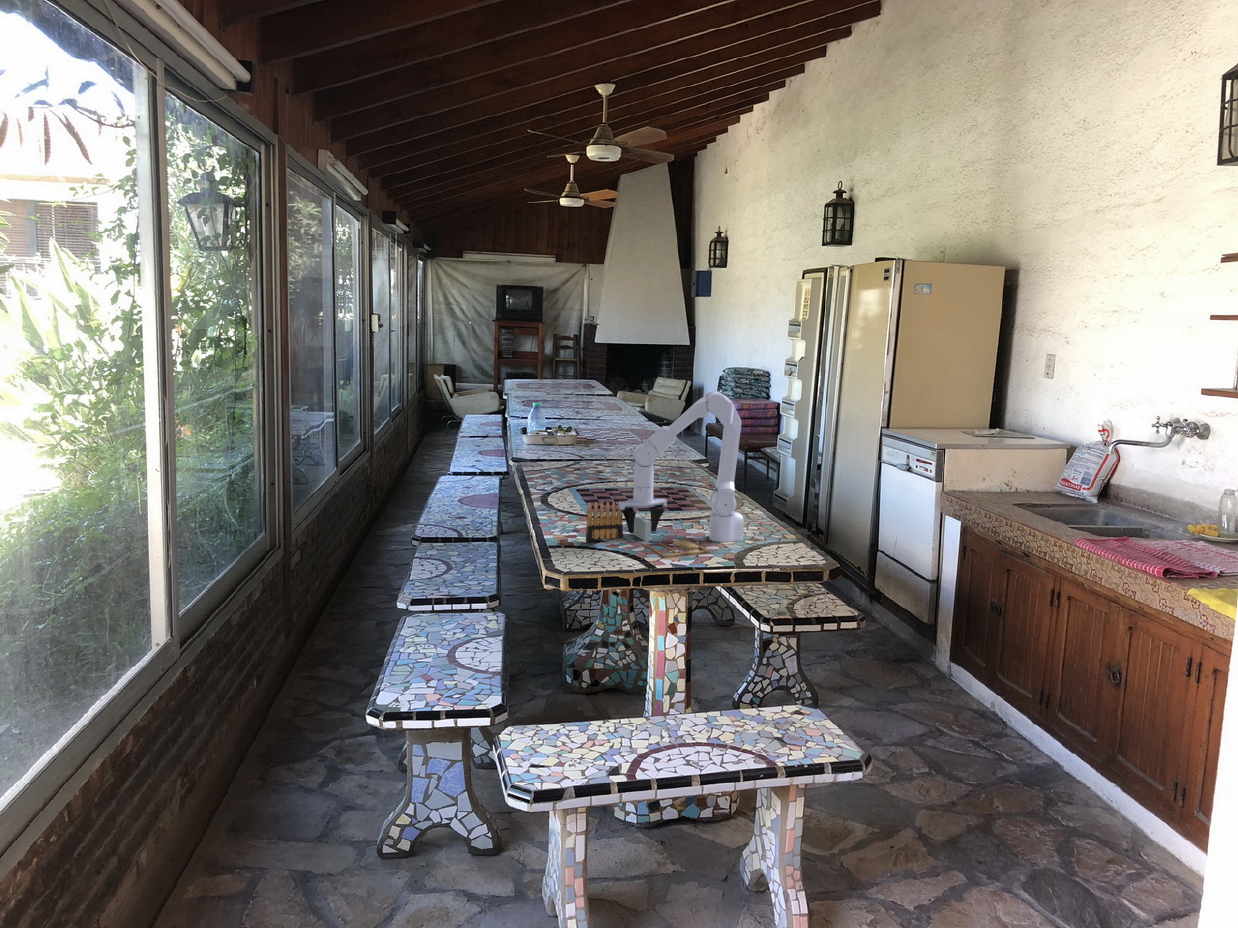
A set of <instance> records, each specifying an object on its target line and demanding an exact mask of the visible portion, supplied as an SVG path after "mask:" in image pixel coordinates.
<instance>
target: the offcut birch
mask: <svg viewBox="0 0 1238 928" xmlns="http://www.w3.org/2000/svg"><path fill="white" fill-rule="evenodd" d="M680 548H681V549H684V550H685V551H686V552H692V551H701V550H691V551H689V550H687V549H685V548H683V547H680Z"/></svg>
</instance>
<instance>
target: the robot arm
mask: <svg viewBox="0 0 1238 928" xmlns="http://www.w3.org/2000/svg"><path fill="white" fill-rule="evenodd" d="M709 413H710V414H711V415H712V416H714V417H716V418H717V419H718V420H719V422H721V424H722V425H723V432H722V438H721V439H722V441H721V446H720V447H721V448H720V454H719V455H720V456H719V465H718V471H717V480H716V481H715V485H714V489H713V491H712V492H711V494H710V502H711V505H712V506H713V507H712V508H711V509H710V512H709V515H710V516H709V517H710V518H709V535H708V539H709V540H711V541H713V542H718V543H730V542H735V541H743V540H744V527H745V523H744V517H743V515H742V514H741V513H740V512H737V511H736V508H737V500H736V498H735V492H736V491H735V490H736V489H735V479H736V471H737V470H736V468H737V462H738V454H739V448H740V447H739V445H740V439H741V437H740V436H741V429H742V419H741V417H740V415H739V413H738V412H737V409H736V407H735V405H734V403H733V401H732V400H731V399H730V398H728V397H727V396H726V395H724V394H723V393H721V392H720V391H717V390H712V391H710V392H708V393H707V394H705V396H703V397H701V398H699V399H698V400H697V401H695V402H694V403H693V404H692V405H691V406H690V407H689V408H688V409H686V411H684V413H682V414H681V415H680V416H679V417H677V418H676V420H675V421H673V422H672V423H671V424H670V425H668V426H667V425H665V426H664V425H663V426H661V427H656V428H655V430H654V431H655V432H654V433H653V434H652V435H650V436H649V437H648V438H647V439H646V438H644V439H643V440H642V442H643V443H640V444H639V445H637V446H635V448H634V452H633V457H634V460H635V461H634V465H633V466H634V467H633V468H634V469H633V489H632V491H633V492H632V493H633V497H632V499H629V500H623V501H620V502H619V501H618V503H619V509H621V510H622V515H623V516H624V519H625V523H626V526H627V530H628V533H629V534H631V535H633V533H634V520H635V515H636V514H637V511H635V510H634V509H640V508H641V509H642V508H649V512H650V521H651V532H657V527H658V525H659V523H660V519H661V518H662V516H663V514H664V512H665V507H667V506H668V505H667V504H668V500H667V499H666V498H654V479H655V477H654V475H655V473H654V471H655V470H654V463H655V460H656V458H657V456H660V455H662V454H663V453H664V452H665V451H666V450H668V448H669V447H671V446H672V445H674V443H675V442H676V440H677V435H678V434H680V433H682V431H683V430H685V429H686V428H687V427H688V426H690V425H691V424H692V423H693V422H694V421H696V420H697V419H699V418H700V419H701V418H707V417H710V415H709Z"/></svg>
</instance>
